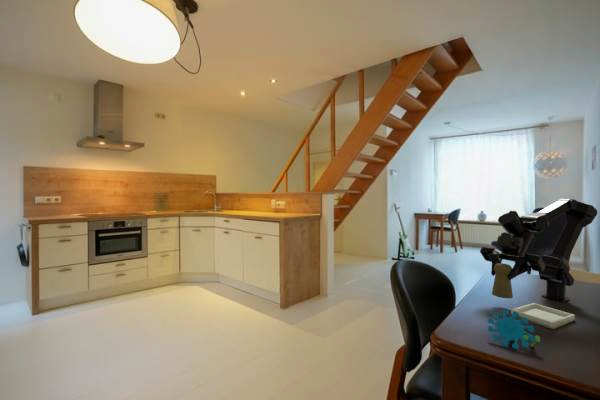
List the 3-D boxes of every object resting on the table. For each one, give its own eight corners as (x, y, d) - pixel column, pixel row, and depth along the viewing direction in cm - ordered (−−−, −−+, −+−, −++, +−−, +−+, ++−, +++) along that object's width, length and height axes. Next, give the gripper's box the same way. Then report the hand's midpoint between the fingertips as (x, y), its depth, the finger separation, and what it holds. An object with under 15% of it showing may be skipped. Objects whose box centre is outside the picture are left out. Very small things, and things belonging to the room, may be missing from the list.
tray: (533, 308, 101) (533, 302, 101) (574, 320, 91) (574, 314, 91) (511, 315, 94) (511, 309, 94) (552, 329, 85) (553, 323, 85)
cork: (516, 299, 98) (517, 266, 98) (496, 297, 99) (497, 265, 99) (507, 293, 104) (508, 262, 104) (488, 291, 105) (489, 261, 105)
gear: (481, 333, 77) (495, 302, 81) (483, 343, 80) (497, 313, 84) (532, 357, 69) (545, 322, 73) (533, 367, 72) (545, 332, 76)
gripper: (483, 225, 111) (464, 256, 106) (542, 231, 95) (523, 268, 90) (494, 244, 115) (477, 275, 110) (552, 253, 98) (535, 290, 94)
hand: (500, 276), depth 101 cm, fingers closed on cork, 5 cm apart
